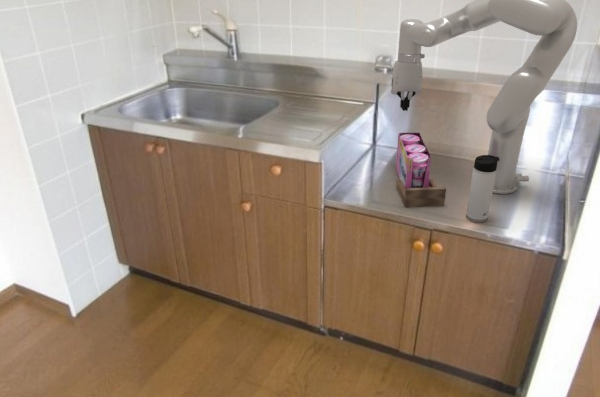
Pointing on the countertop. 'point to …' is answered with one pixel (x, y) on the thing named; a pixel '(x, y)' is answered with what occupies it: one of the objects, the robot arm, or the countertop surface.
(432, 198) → the brown wooden open box
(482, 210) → the travel mug
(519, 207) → the countertop surface
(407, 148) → the gum box
